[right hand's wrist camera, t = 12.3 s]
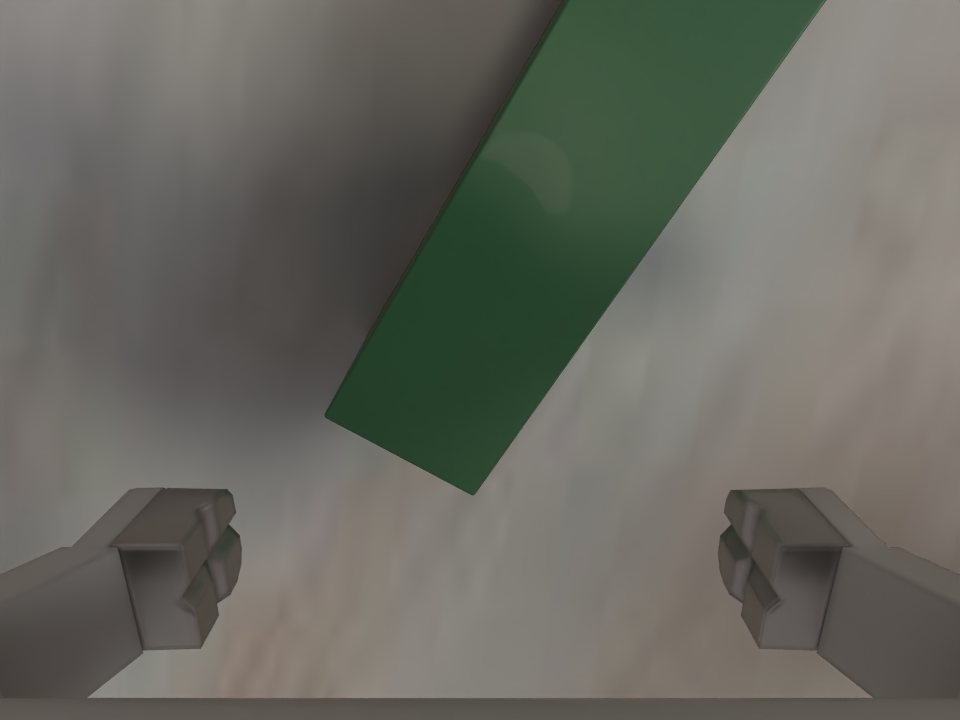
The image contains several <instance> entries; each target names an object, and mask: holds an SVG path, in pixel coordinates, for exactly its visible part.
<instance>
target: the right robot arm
mask: <svg viewBox="0 0 960 720" xmlns="http://www.w3.org/2000/svg"><path fill="white" fill-rule="evenodd" d="M235 513H236V510H235V505H234V500H233V495H232V494H231V493H230V492H229V491H228V490H227V489H194V488H135V489H130V490H129V491H128V492H127V493H126V494H124V495H123V496H122V497H121V498H120V499H119V500H118V501H117V502H116V503H115V504H114V505H113V506H112V507H111V508H110V509H109V510H108V511H107V512H106V513H105V514H104V515H103V516H102V517H101V518H100V519H99V520H98V521H97V522H96V523H95V524H94V525H93V526H92V527H91V528H90V529H89V530H88V531H87V532H86V533H85V534H84V535H83V536H82V537H81V538H80V539H79V540H78V541H77V542H76V543H75V544H74V545H73V546H72V547H61V548H59V549H56V550H54V551H52V552H50V553H47V554H45V555H43V556H41V557H39V558H36V559H34V560H32V561H30V562H27V563H25V564H23V565H21V566H19V567H16V568H14V569H12V570H10V571H7V572H5V573H3V574H1V575H0V720H960V575H959V574H957V573H955V572H952V571H950V570H948V569H946V568H944V567H941V566H939V565H937V564H935V563H932V562H930V561H928V560H926V559H924V558H921V557H919V556H917V555H915V554H913V553H910V552H908V551H906V550H904V549H901V548H899V547H888V546H887V545H886V544H885V543H884V542H883V541H882V540H881V539H880V538H879V537H878V536H877V535H876V534H875V533H874V532H873V531H872V530H871V529H870V528H869V527H868V526H867V525H866V524H865V523H864V522H863V521H862V520H861V519H860V518H859V517H858V516H857V515H856V514H855V513H854V512H853V511H852V510H851V509H850V508H849V507H848V506H847V505H846V504H845V503H844V502H843V501H842V500H841V499H840V498H839V497H838V496H837V495H836V494H835V493H834V492H833V491H832V490H829V489H826V488H824V487H818V488H793V489H756V490H730V492H729V494H728V496H727V499H726V503H725V509H724V513H725V515H726V517H727V518H728V520H729V521H730V523H731V525H730V526H729V527H728V528H727V529H726V530H725V531H724V532H723V533H722V534H721V535H720V541H719V550H718V558H719V568H720V573H721V576H722V579H723V583H724V585H725V587H726V589H727V590H728V592H729V594H730V595H731V596H733V597H734V598H736V599H737V600H739V601H740V602H741V603H743V607H742V612H741V616H742V618H743V620H744V622H745V624H746V625H747V627H748V629H749V631H750V633H751V634H752V636H753V638H754V640H755V642H756V643H757V645H758V647H759V649H789V650H817V653H818V654H819V655H820V656H821V657H823V658H824V659H825V660H827V661H828V662H829V663H830V664H832V665H833V666H834V667H835V668H837V669H838V670H839V671H840V672H842V673H843V674H844V675H845V676H847V677H848V678H849V679H850V680H852V681H853V682H854V683H856V684H857V685H858V686H859V687H861V688H862V689H863V690H864V691H866V692H867V693H868V694H869V695H871V696H872V697H873V698H87V697H88V696H90V695H91V694H92V693H93V692H95V691H96V690H97V689H98V688H100V687H101V686H102V685H103V684H105V683H106V682H107V681H108V680H110V679H111V678H112V677H114V676H115V675H116V674H117V673H119V672H120V671H121V670H122V669H124V668H125V667H126V666H127V665H129V664H130V663H131V662H132V661H134V660H135V659H136V658H138V657H139V656H140V655H141V654H143V651H142V650H170V649H201V647H202V645H203V644H204V642H205V640H206V638H207V636H208V635H209V633H210V631H211V629H212V627H213V625H214V624H215V622H216V620H217V618H218V616H219V612H218V607H217V603H219V602H220V601H221V600H223V599H224V598H226V597H227V596H229V595H230V594H231V592H232V590H233V588H234V586H235V585H236V583H237V580H238V576H239V571H240V567H241V559H242V547H241V541H240V535H239V534H238V533H237V532H236V531H235V530H234V529H233V528H232V527H231V526H230V525H229V523H230V521H231V520H232V518H233V517H234V515H235Z"/></svg>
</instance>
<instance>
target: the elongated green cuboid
mask: <svg viewBox="0 0 960 720" xmlns="http://www.w3.org/2000/svg"><path fill="white" fill-rule="evenodd" d="M825 1H826V0H562V2H561V4H560V5H559V7H558V9H557V11H556V12H555V14H554V16H553V17H552V19H551V21H550V23H549V24H548V26H547V28H546V29H545V31H544V33H543V35H542V36H541V38H540V40H539V41H538V43H537V45H536V47H535V48H534V50H533V52H532V54H531V55H530V57H529V59H528V60H527V62H526V64H525V66H524V67H523V69H522V71H521V72H520V74H519V76H518V78H517V79H516V81H515V83H514V84H513V86H512V88H511V90H510V91H509V93H508V95H507V96H506V98H505V100H504V102H503V103H502V105H501V107H500V108H499V110H498V112H497V114H496V115H495V117H494V119H493V120H492V122H491V124H490V126H489V127H488V129H487V131H486V133H485V134H484V136H483V138H482V139H481V141H480V143H479V145H478V146H477V148H476V150H475V151H474V153H473V155H472V157H471V158H470V160H469V162H468V163H467V165H466V167H465V169H464V170H463V172H462V174H461V175H460V177H459V179H458V181H457V182H456V184H455V186H454V187H453V189H452V191H451V193H450V194H449V196H448V198H447V200H446V201H445V203H444V205H443V206H442V208H441V210H440V212H439V213H438V215H437V217H436V218H435V220H434V222H433V224H432V225H431V227H430V229H429V230H428V232H427V234H426V236H425V237H424V239H423V241H422V242H421V244H420V246H419V248H418V249H417V251H416V253H415V254H414V256H413V258H412V260H411V261H410V263H409V265H408V267H407V268H406V270H405V272H404V273H403V275H402V277H401V279H400V280H399V282H398V284H397V285H396V287H395V289H394V291H393V292H392V294H391V296H390V297H389V299H388V301H387V303H386V304H385V306H384V308H383V309H382V311H381V313H380V315H379V316H378V318H377V320H376V321H375V323H374V325H373V327H372V328H371V330H370V332H369V334H368V335H367V337H366V339H365V341H364V342H363V345H362V347H361V348H360V350H359V352H358V354H357V356H356V358H355V359H354V361H353V363H352V365H351V367H350V369H349V370H348V372H347V374H346V376H345V378H344V380H343V381H342V383H341V385H340V387H339V389H338V391H337V392H336V394H335V396H334V398H333V400H332V402H331V403H330V405H329V407H328V409H327V411H326V413H325V417H326V418H327V419H329V420H331V421H333V422H335V423H336V424H338V425H340V426H342V427H344V428H346V429H348V430H350V431H352V432H354V433H355V434H357V435H359V436H361V437H363V438H365V439H367V440H369V441H371V442H372V443H374V444H376V445H378V446H380V447H382V448H384V449H386V450H388V451H389V452H391V453H393V454H395V455H397V456H399V457H401V458H403V459H405V460H406V461H408V462H410V463H412V464H414V465H416V466H418V467H420V468H422V469H423V470H425V471H427V472H429V473H431V474H433V475H435V476H437V477H439V478H440V479H442V480H444V481H446V482H448V483H450V484H452V485H454V486H456V487H457V488H459V489H461V490H463V491H465V492H467V493H469V494H471V495H475V494H476V492H477V491H478V489H479V488H480V486H481V485H482V484H483V482H484V481H485V479H486V478H487V477H488V475H489V474H490V472H491V471H492V470H493V468H494V467H495V465H496V464H497V463H498V461H499V460H500V458H501V457H502V456H503V454H504V453H505V451H506V450H507V449H508V447H509V446H510V444H511V443H512V441H513V440H514V439H515V437H516V436H517V434H518V433H519V432H520V430H521V429H522V427H523V426H524V425H525V423H526V422H527V420H528V419H529V418H530V416H531V415H532V413H533V412H534V411H535V409H536V408H537V406H538V405H539V404H540V402H541V401H542V399H543V398H544V396H545V395H546V394H547V392H548V391H549V389H550V388H551V387H552V385H553V384H554V382H555V381H556V380H557V378H558V377H559V375H560V374H561V373H562V371H563V370H564V368H565V367H566V366H567V364H568V363H569V361H570V360H571V358H572V357H573V356H574V354H575V353H576V351H577V350H578V349H579V347H580V346H581V344H582V343H583V342H584V340H585V339H586V337H587V336H588V335H589V333H590V332H591V330H592V329H593V328H594V326H595V325H596V323H597V322H598V321H599V319H600V318H601V316H602V315H603V313H604V312H605V311H606V309H607V308H608V306H609V305H610V304H611V302H612V301H613V299H614V298H615V297H616V295H617V294H618V292H619V291H620V290H621V288H622V287H623V285H624V284H625V283H626V281H627V280H628V278H629V277H630V275H631V274H632V273H633V271H634V270H635V268H636V267H637V266H638V264H639V263H640V261H641V260H642V259H643V257H644V256H645V254H646V253H647V252H648V250H649V249H650V247H651V246H652V245H653V243H654V242H655V240H656V239H657V238H658V236H659V235H660V233H661V232H662V230H663V229H664V228H665V226H666V225H667V223H668V222H669V221H670V219H671V218H672V216H673V215H674V214H675V212H676V211H677V209H678V208H679V207H680V205H681V204H682V202H683V201H684V200H685V198H686V197H687V195H688V194H689V193H690V191H691V190H692V188H693V187H694V185H695V184H696V183H697V181H698V180H699V178H700V177H701V176H702V174H703V173H704V171H705V170H706V169H707V167H708V166H709V164H710V163H711V162H712V160H713V159H714V157H715V156H716V155H717V153H718V152H719V150H720V149H721V147H722V146H723V145H724V143H725V142H726V140H727V139H728V138H729V136H730V135H731V133H732V132H733V131H734V129H735V128H736V126H737V125H738V124H739V122H740V121H741V119H742V118H743V117H744V115H745V114H746V112H747V111H748V110H749V108H750V107H751V105H752V104H753V102H754V101H755V100H756V98H757V97H758V95H759V94H760V93H761V91H762V90H763V88H764V87H765V86H766V84H767V83H768V81H769V80H770V79H771V77H772V76H773V74H774V73H775V72H776V70H777V69H778V67H779V66H780V64H781V63H782V62H783V60H784V59H785V57H786V56H787V55H788V53H789V52H790V50H791V49H792V48H793V46H794V45H795V43H796V42H797V41H798V39H799V38H800V36H801V35H802V34H803V32H804V31H805V29H806V28H807V27H808V25H809V24H810V22H811V21H812V19H813V18H814V17H815V15H816V14H817V12H818V11H819V10H820V8H821V7H822V5H823V4H824V3H825Z"/></svg>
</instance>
